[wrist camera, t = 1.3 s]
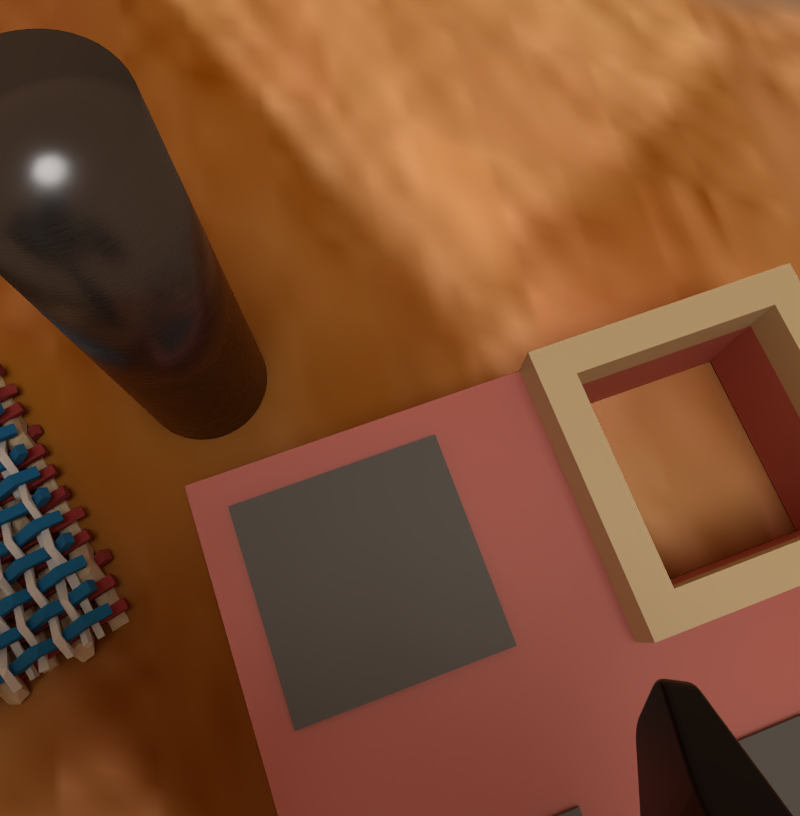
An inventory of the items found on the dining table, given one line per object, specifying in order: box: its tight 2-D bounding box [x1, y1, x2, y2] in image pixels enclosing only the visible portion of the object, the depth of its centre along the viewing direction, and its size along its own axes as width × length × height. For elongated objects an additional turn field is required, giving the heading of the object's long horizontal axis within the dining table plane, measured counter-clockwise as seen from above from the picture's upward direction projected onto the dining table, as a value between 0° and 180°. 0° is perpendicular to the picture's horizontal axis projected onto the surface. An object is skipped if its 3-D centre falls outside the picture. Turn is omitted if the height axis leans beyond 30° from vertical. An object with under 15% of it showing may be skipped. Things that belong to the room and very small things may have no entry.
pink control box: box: [185, 263, 800, 816], centre depth 20 cm, size 18×18×4 cm
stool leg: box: [0, 29, 267, 439], centre depth 19 cm, size 4×4×13 cm
